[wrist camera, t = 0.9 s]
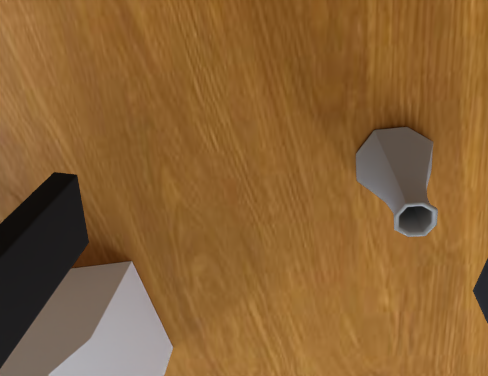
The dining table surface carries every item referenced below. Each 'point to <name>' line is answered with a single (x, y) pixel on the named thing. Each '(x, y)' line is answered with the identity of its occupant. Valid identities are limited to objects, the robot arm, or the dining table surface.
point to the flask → (399, 176)
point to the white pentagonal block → (94, 329)
